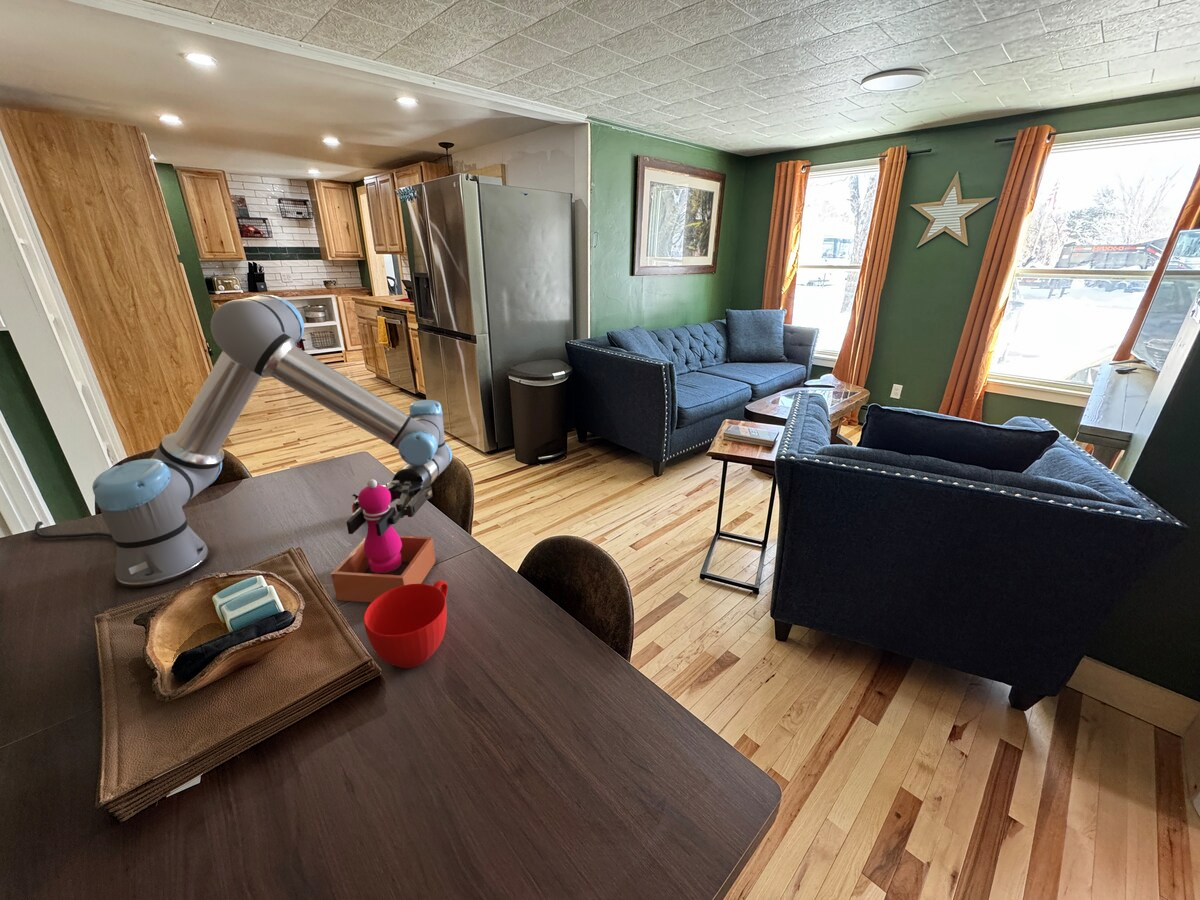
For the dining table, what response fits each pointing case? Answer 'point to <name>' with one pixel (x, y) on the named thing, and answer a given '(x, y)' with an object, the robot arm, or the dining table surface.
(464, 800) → the dining table surface
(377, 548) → the pepper mill
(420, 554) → the open wooden tray
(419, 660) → the ceramic cup
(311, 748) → the dining table surface
